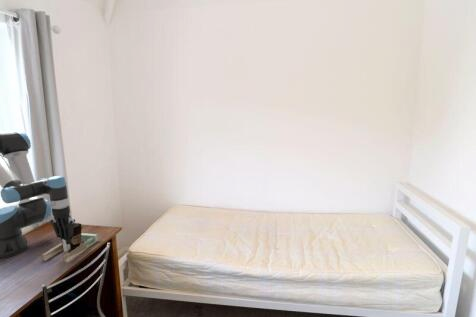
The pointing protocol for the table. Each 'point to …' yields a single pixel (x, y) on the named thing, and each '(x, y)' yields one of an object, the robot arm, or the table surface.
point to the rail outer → (79, 250)
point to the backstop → (88, 237)
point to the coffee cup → (75, 237)
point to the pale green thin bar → (52, 252)
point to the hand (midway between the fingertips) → (67, 249)
